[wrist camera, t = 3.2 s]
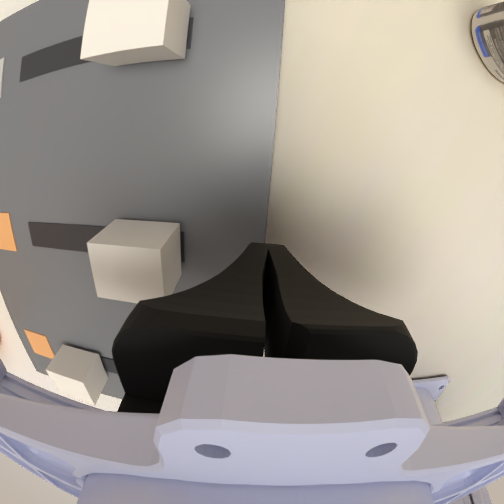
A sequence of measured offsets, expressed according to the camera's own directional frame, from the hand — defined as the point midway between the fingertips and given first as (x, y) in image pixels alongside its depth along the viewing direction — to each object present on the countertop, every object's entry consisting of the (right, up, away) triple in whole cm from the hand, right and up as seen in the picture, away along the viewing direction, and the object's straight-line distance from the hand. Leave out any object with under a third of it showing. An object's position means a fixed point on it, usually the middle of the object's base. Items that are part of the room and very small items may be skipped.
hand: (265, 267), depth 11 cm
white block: (-12, -7, +5) cm, 14 cm away
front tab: (-4, +9, -3) cm, 10 cm away
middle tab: (-5, +1, +1) cm, 5 cm away
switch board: (-9, +2, +3) cm, 9 cm away
